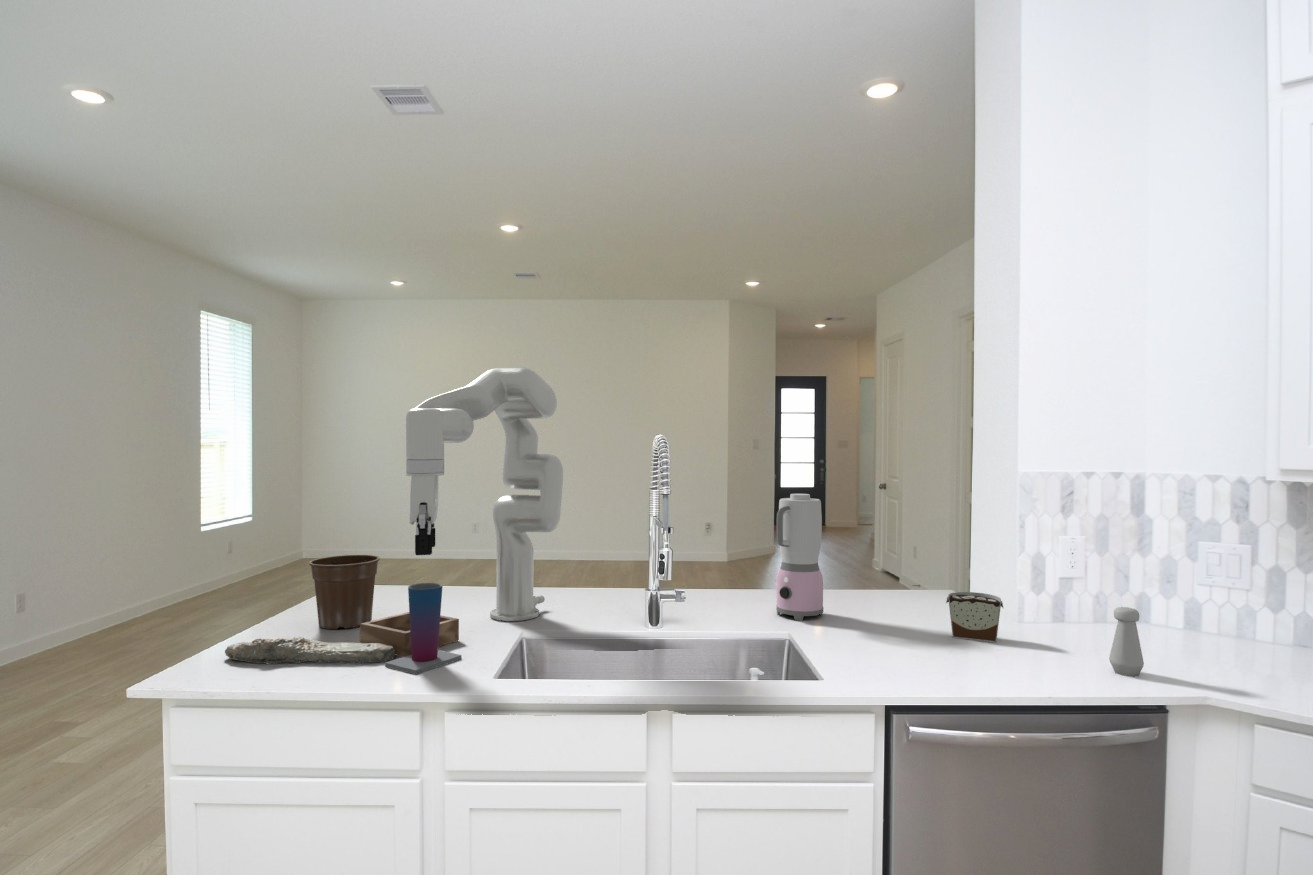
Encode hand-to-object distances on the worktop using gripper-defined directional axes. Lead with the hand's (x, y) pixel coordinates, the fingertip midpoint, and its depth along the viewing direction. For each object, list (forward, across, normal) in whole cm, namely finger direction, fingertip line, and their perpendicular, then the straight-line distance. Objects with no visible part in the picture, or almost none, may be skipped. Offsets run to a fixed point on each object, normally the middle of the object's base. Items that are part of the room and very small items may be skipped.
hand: (425, 550), depth 151 cm
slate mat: (+23, +1, 0) cm, 23 cm away
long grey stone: (+24, -8, -24) cm, 34 cm away
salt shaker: (+24, +37, +137) cm, 144 cm away
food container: (+24, +7, +125) cm, 127 cm away
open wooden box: (+23, -15, -5) cm, 28 cm away
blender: (+24, -21, +92) cm, 97 cm away
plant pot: (+24, -37, -22) cm, 49 cm away
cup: (+22, 0, 0) cm, 22 cm away
